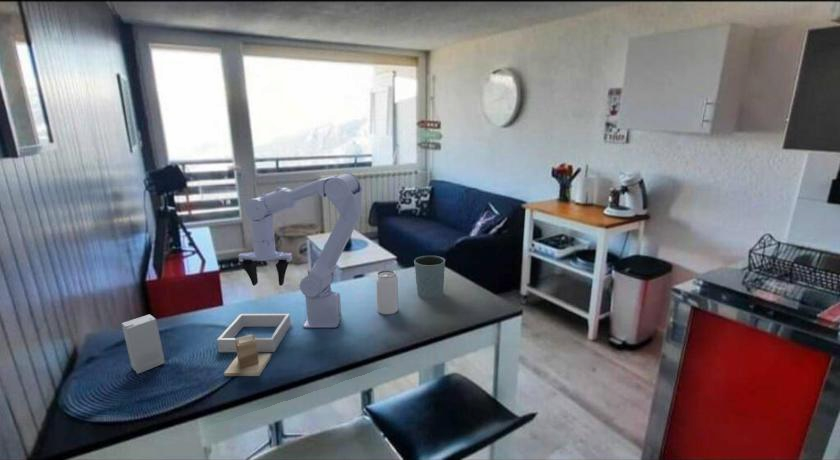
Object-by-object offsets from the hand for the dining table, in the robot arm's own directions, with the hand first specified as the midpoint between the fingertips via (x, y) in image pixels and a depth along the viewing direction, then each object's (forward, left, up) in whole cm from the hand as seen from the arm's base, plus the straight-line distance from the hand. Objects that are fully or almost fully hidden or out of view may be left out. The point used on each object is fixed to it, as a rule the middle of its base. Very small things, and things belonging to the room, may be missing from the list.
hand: (268, 284), depth 120 cm
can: (-34, -4, -11) cm, 36 cm away
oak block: (-3, +25, -10) cm, 27 cm away
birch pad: (-3, +25, -10) cm, 27 cm away
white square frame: (0, +12, -10) cm, 16 cm away
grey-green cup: (-47, -16, -11) cm, 51 cm away
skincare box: (+21, +25, -11) cm, 34 cm away
